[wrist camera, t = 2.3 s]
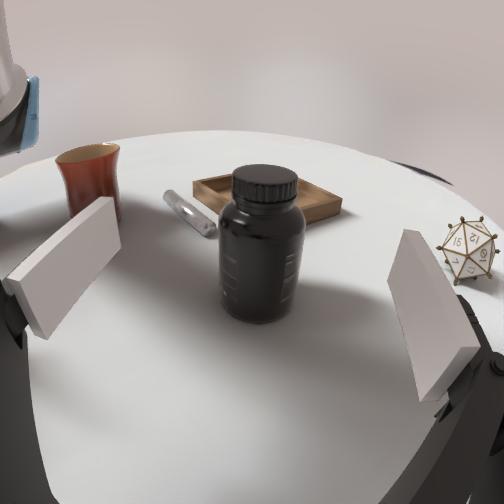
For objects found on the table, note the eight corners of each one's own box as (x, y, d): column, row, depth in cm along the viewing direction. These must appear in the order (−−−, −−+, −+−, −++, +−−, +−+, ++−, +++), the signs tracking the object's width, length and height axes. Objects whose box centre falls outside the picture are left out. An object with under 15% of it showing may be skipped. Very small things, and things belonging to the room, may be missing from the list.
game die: (446, 288, 37) (472, 227, 36) (490, 308, 29) (517, 238, 28) (413, 261, 34) (444, 193, 33) (464, 281, 26) (495, 199, 25)
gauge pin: (163, 203, 44) (162, 191, 43) (175, 200, 45) (175, 188, 44) (201, 238, 37) (201, 223, 35) (216, 234, 38) (215, 219, 37)
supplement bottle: (272, 270, 32) (285, 157, 26) (306, 313, 27) (333, 186, 20) (209, 284, 30) (207, 163, 23) (235, 335, 24) (240, 195, 18)
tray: (193, 196, 47) (192, 181, 46) (271, 179, 55) (272, 166, 54) (255, 242, 37) (256, 223, 35) (339, 213, 45) (342, 198, 44)
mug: (127, 234, 36) (117, 155, 31) (64, 244, 34) (47, 167, 28) (128, 198, 46) (122, 135, 40) (77, 205, 43) (68, 144, 37)
